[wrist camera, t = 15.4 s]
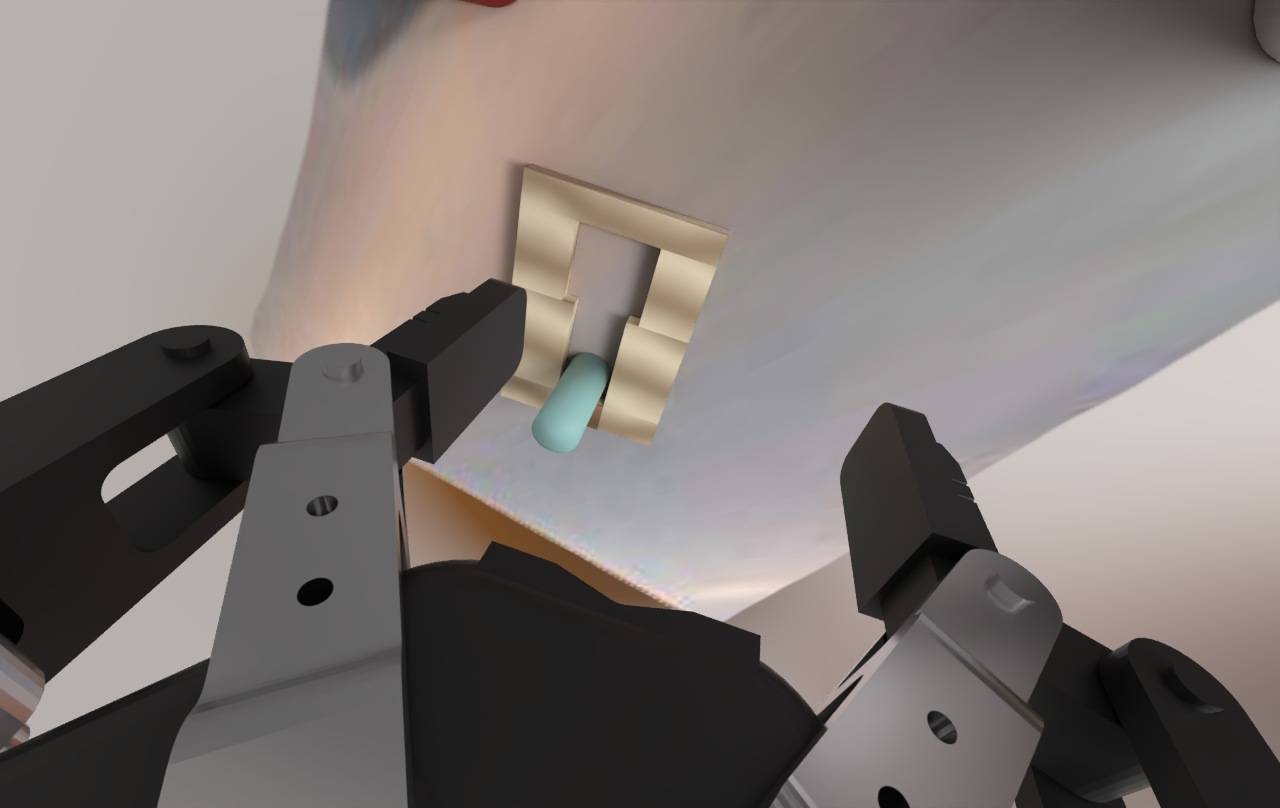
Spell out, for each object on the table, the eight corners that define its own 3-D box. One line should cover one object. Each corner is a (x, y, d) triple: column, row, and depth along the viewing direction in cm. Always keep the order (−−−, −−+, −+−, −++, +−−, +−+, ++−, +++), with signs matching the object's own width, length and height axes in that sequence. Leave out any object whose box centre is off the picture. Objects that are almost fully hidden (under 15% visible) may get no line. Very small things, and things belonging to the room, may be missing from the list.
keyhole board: (531, 164, 37) (522, 167, 36) (729, 230, 37) (728, 236, 35) (506, 387, 50) (499, 396, 49) (652, 436, 50) (649, 447, 49)
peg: (614, 360, 46) (583, 423, 38) (605, 393, 48) (574, 458, 40) (574, 347, 46) (534, 406, 38) (567, 380, 48) (529, 443, 40)
